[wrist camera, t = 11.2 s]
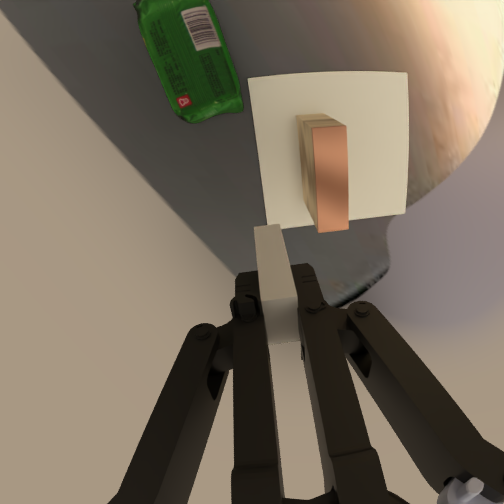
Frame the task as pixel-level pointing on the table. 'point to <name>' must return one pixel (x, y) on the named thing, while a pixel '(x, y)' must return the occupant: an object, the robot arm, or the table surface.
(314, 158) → the oak slab
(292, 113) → the cream board
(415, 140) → the table surface
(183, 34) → the snack package
